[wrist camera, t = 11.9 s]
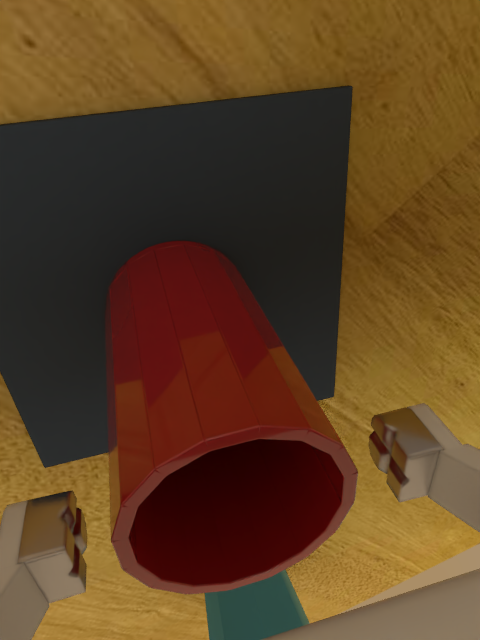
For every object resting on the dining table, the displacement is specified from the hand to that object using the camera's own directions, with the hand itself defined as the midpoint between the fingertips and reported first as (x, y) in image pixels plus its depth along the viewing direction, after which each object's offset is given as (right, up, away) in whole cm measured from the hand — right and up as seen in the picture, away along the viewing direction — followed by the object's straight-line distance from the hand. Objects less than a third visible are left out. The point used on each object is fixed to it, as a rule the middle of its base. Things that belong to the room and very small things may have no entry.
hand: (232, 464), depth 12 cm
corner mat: (-3, +5, +8) cm, 10 cm away
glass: (-3, +5, +8) cm, 10 cm away
